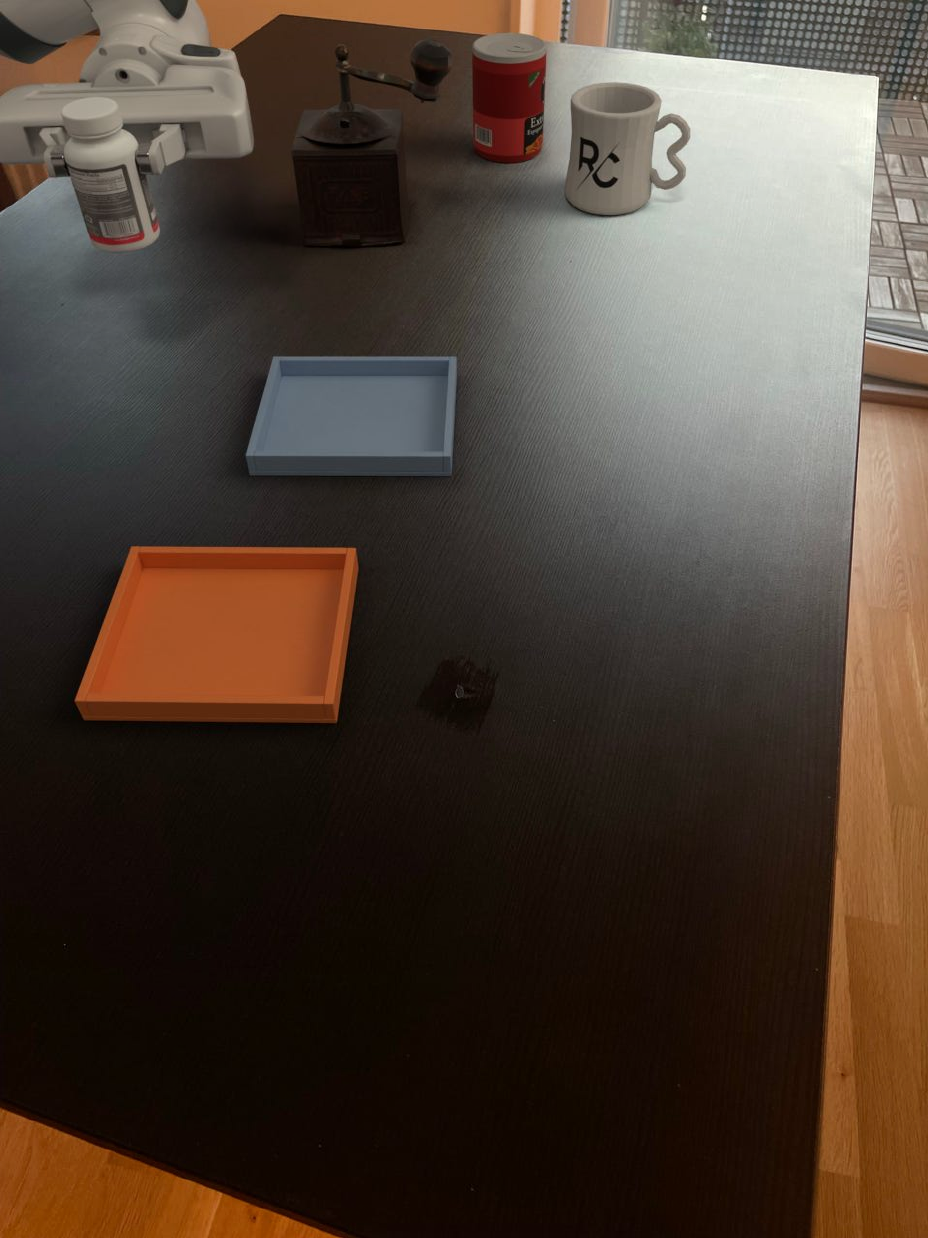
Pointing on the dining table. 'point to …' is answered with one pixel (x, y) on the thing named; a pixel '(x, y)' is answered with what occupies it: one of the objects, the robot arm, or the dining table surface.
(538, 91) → the canned food
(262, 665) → the orange tray
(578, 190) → the mug
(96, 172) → the pill bottle
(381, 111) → the manual coffee grinder
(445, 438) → the blue tray
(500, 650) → the dining table surface
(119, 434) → the dining table surface
